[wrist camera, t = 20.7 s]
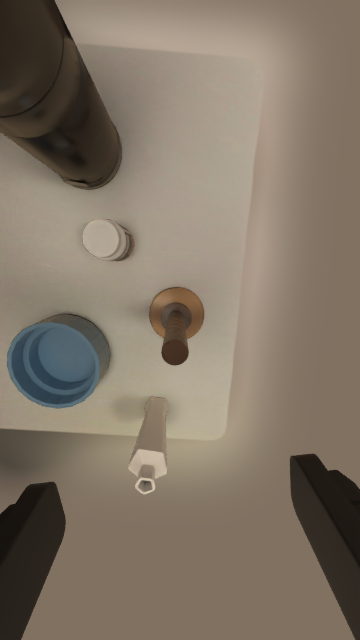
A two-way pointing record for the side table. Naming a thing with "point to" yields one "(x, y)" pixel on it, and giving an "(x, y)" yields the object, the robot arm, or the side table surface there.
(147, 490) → the perfume bottle
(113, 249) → the pill bottle
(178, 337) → the brown wooden peg
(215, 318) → the side table surface
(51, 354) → the bowl
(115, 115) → the side table surface
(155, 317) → the coaster
